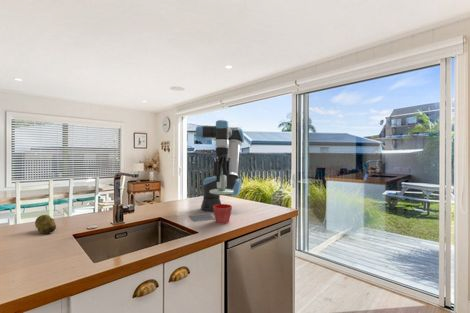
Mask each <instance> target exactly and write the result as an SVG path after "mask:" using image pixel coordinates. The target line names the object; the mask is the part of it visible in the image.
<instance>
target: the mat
mask: <svg viewBox="0 0 470 313" xmlns="http://www.w3.org/2000/svg"><path fill="white" fill-rule="evenodd" d="M188 217H189V219H190V220H191V222H203V221H204V222H205V221H213V220H214V221H216V220H215V216H213V215H212V214H210V213H205V214H195V215H188Z"/></svg>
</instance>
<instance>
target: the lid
mask: <svg viewBox="0 0 470 313" xmlns="http://www.w3.org/2000/svg"><path fill="white" fill-rule="evenodd" d="M220 176H221V188H218V189H212V190H210V193H211V194H220V196H224V195H223V194H232V193H234V190H231V189H225V180H226V175H223V174H221V175H220Z"/></svg>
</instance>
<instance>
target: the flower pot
mask: <svg viewBox="0 0 470 313" xmlns="http://www.w3.org/2000/svg"><path fill="white" fill-rule="evenodd" d="M232 208H233V205H231V204H226V203H221V204H217V205H214V206H213V209H214V212H213V215H214V218H215V220H214V221H215V223H216V224H219V225H220V224H221V225H222V224H228V223H230V219H231V214H232V211H233V210H232Z"/></svg>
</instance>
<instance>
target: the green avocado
mask: <svg viewBox="0 0 470 313" xmlns="http://www.w3.org/2000/svg"><path fill="white" fill-rule="evenodd" d="M34 225H35V228H36V229H37V231H38V232H39V233H40V232H41V233H40V234H45V233H46V234H51V233H50V232H52V233H53V232H55V230H56V229H57V225H56V221H55V219H54V218H53V217H51V216H50V215H48V214H42V215H39V216H38V217H37V218H36V219H35V222H34Z"/></svg>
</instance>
